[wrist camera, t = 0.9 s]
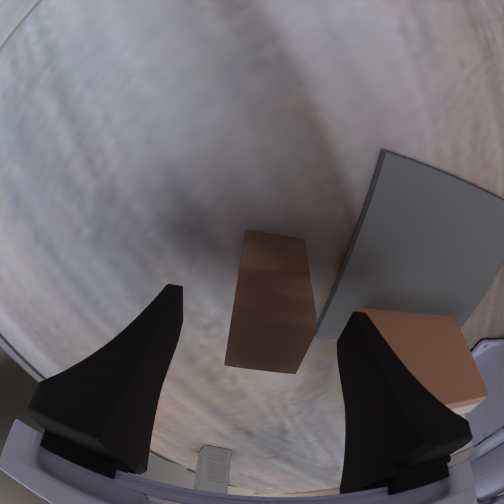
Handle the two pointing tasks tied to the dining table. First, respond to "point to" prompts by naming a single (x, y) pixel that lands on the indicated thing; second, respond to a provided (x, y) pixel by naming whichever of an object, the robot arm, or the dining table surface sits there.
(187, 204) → the dining table surface
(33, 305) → the dining table surface
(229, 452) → the skincare box
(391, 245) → the mat
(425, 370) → the whetstone
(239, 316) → the walnut block
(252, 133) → the dining table surface
